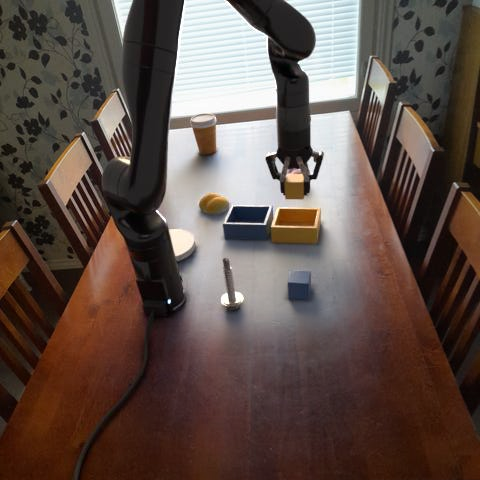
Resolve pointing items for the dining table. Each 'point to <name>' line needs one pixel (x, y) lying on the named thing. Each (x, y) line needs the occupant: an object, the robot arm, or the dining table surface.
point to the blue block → (299, 284)
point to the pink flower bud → (294, 171)
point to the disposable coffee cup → (205, 132)
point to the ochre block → (294, 186)
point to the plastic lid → (182, 243)
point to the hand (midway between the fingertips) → (295, 193)
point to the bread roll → (214, 204)
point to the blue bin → (248, 222)
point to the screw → (230, 288)
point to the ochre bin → (296, 225)
